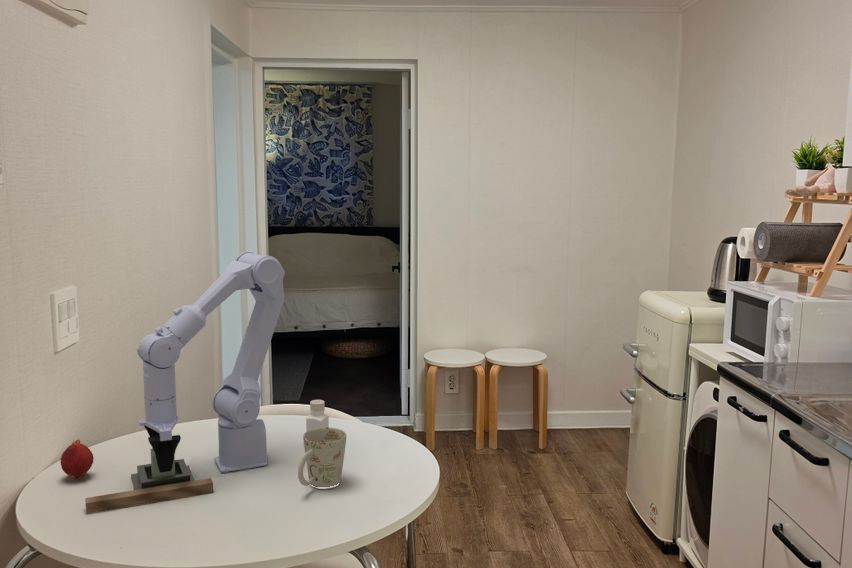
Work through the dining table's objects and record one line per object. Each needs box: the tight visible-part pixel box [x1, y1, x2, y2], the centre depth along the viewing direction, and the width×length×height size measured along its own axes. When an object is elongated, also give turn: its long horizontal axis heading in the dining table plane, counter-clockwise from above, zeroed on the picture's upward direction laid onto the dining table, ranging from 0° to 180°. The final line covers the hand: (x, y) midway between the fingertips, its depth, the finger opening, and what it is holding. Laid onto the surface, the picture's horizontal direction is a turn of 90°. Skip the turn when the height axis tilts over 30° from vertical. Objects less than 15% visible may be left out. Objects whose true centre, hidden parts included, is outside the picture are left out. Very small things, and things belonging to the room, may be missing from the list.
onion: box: [59, 438, 95, 479], centre depth 146 cm, size 6×6×8 cm
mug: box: [297, 427, 347, 487], centre depth 144 cm, size 8×13×10 cm, turn 155°
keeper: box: [130, 458, 196, 490], centre depth 145 cm, size 11×11×3 cm
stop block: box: [150, 447, 176, 479], centre depth 145 cm, size 4×4×6 cm
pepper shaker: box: [305, 399, 330, 433], centre depth 167 cm, size 4×4×10 cm
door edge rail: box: [84, 477, 214, 515], centre depth 137 cm, size 22×2×2 cm, turn 116°
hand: (163, 463), depth 145 cm, fingers open, 7 cm apart
